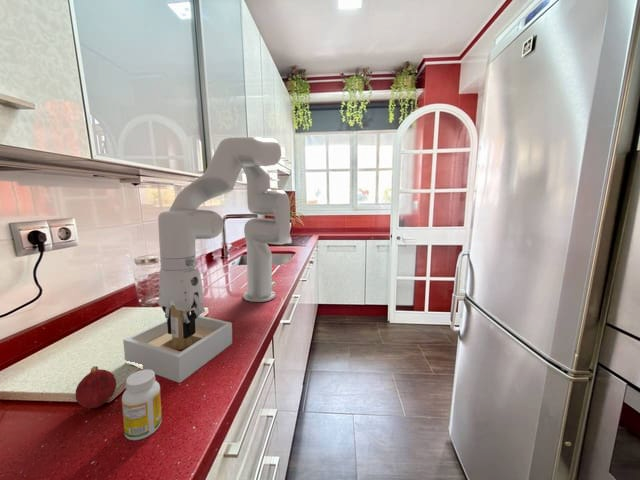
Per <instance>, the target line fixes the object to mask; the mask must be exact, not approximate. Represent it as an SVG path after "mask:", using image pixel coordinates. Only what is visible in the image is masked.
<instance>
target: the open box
mask: <svg viewBox="0 0 640 480" xmlns="http://www.w3.org/2000/svg"><path fill="white" fill-rule="evenodd" d="M190 315H191V312H190ZM122 341H123V351H124V352H123V353H124V361H125V360H126V361H130V362H135V363H138V364H142V365H143V370H146V369H148V370H152V371H154V373H155V376H156V375H157V376H159V377H163V378H165V379H167V380H171V381H173V382H177V383H178V384H180V383H182V382H183V381H185V380H186V379H188V378H189V377H190V376H191V375H192V374H194V373H196V371H198V370H199V369H200V368H202V367H203V366H204V365H205V364H207V363H208V362H209V361H211V360H213V359H214V358H215V357H216V356H217V355H219V354H220V353H222V352H223V351H224V350H226V349H227V348H229V346H231V345H232V344H233V322H230V321H225V320H221V319H217V318H212V317H208V316H204V315H202V314H200V315H199V316H198V317H197V319H195V334H193V335H192V336H191V341H192V344H191V345H190V346H189V347H187V348H185V349H182V351H180V350H176V349H173V348H172V334H168V326H167V319H164V320H162V321H160V322H159V323H156V324H154V325H151V326H149V327H148V328H147V327H146V328H144V329H143V330H141V331H139V332H137V333H134V334H132V335H130V336H128V337H126V338H124V339H123V340H122Z"/></svg>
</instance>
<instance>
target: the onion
mask: <svg viewBox="0 0 640 480" xmlns="http://www.w3.org/2000/svg"><path fill="white" fill-rule="evenodd" d="M116 388H117V380H116V377H115V375H114V374H113V372H111V371H109V370H107V369H99V366H96V365H94V366H92V367H91V369H90V372H89V373H87V374H86V375H85V376H84V377H83V378H82V379H80V381H79V383H78V384H77V386H76V388H75V400H76V402H77V404H79V405H80V406H82V407H83V408H88V409H96V408H100V407H101V406H102V405H104V404H105V403H107V402H108V401H109V400H110V399H111V398H112V397H113V395H114V393H115V391H116V390H117V389H116Z"/></svg>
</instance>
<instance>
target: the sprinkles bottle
mask: <svg viewBox="0 0 640 480" xmlns="http://www.w3.org/2000/svg"><path fill="white" fill-rule="evenodd" d="M170 304H171V305H172V306H171V308H170V309H171V333H172V348H173V349H174V350H178V351H180V350H185V349H186V348H188V347H189V346H191V344H192V341H191V336H190V337H188V338H186V339H185V338H184V337H183V323H185V321H184V316H183V311H180V310H176V309H175V306H173V305H175V304H174V302H173V301H172V300H171V301H170ZM188 313H189V316H190V313H191V311H190V312H188Z"/></svg>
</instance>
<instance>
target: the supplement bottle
mask: <svg viewBox="0 0 640 480" xmlns="http://www.w3.org/2000/svg"><path fill="white" fill-rule="evenodd" d="M161 398H162V397H161V385H160V383H159V382H158V381H157V380H156V374H155V373H154V371H152V370H148V369H146V370H142V369H140V370H138V371H135V372H133V373H132V374H130V375H129V376H128V377H127V378H126V379H125V391H124V392H123V393H122V397H121V405H122V417H123V419H122V420H123V429H124V430H123V431H124V432H123V433H124V437H125V438H126V439H128V440H130V441H139V440H143V439H145V438H147V437H150V436H151V435H152V434H154V433H155V432H156V431H157V430H158V429H159V427H160V425H161V424H162V417H163V416H162V401H161V400H162V399H161Z"/></svg>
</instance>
